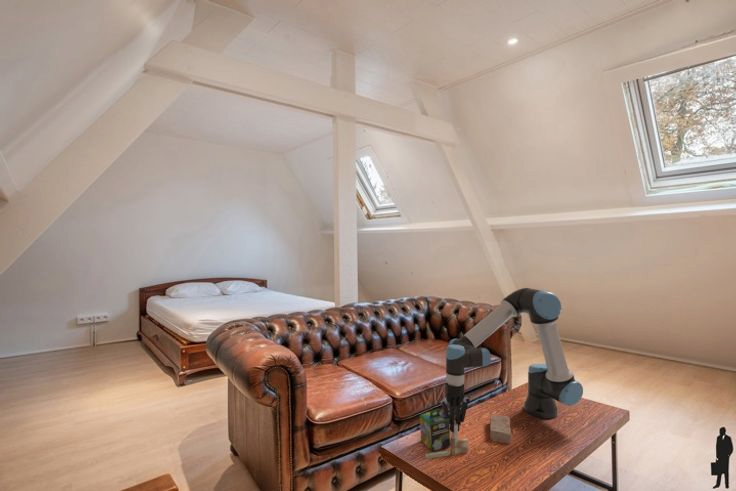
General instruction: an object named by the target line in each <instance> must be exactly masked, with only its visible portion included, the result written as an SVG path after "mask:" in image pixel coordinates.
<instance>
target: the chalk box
mask: <svg viewBox="0 0 736 491" xmlns="http://www.w3.org/2000/svg"><path fill="white" fill-rule="evenodd" d="M419 424H420V429H419V430H420V441H421V442H422V443H423V444H424V445H425V447H427V448H428V449H429V450H430V451H431V452H435V451H438V450H441V449H442V450H443V449H445V448H449V447H451V431H450V424H449V418H447V417H446V416H445V415H444V413H442V412H441V408H436V409H432V410H430V411H427V412H423V413H421V414H420V415H419Z"/></svg>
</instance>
